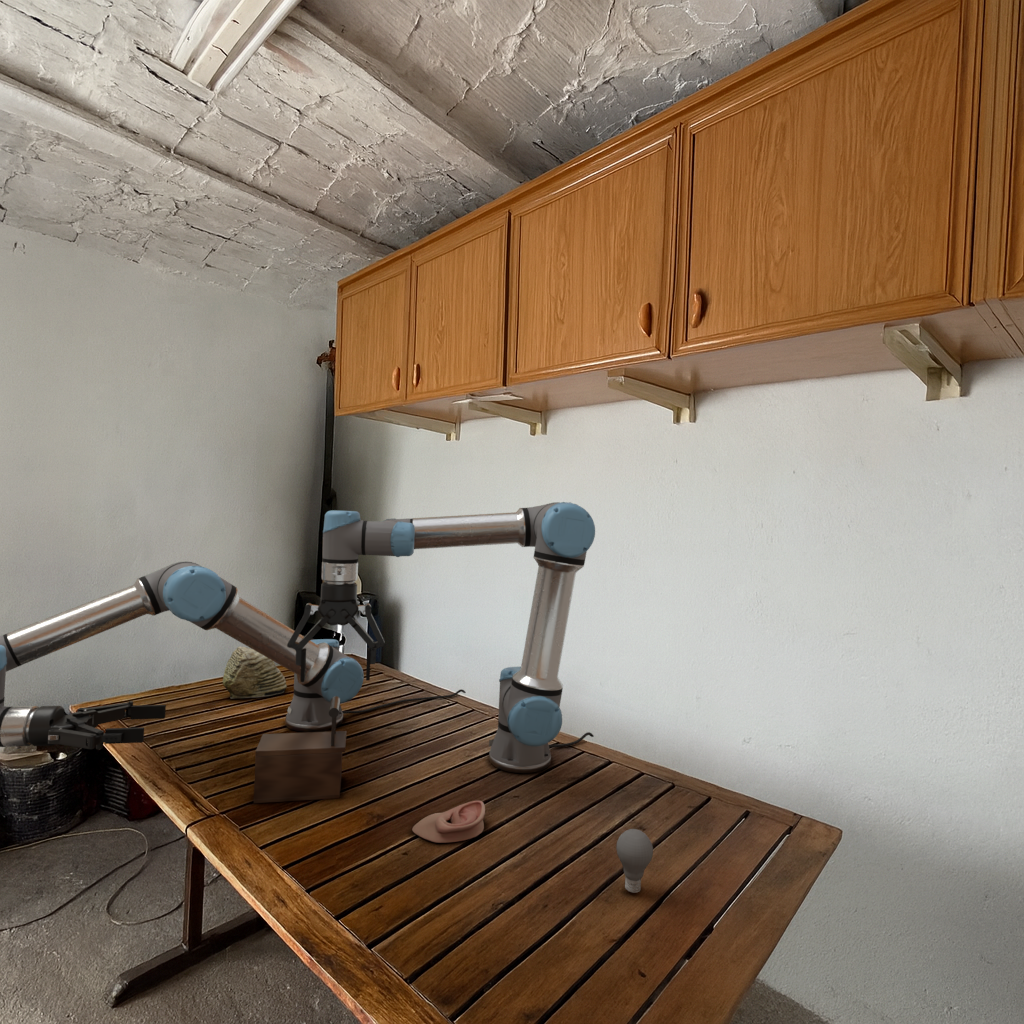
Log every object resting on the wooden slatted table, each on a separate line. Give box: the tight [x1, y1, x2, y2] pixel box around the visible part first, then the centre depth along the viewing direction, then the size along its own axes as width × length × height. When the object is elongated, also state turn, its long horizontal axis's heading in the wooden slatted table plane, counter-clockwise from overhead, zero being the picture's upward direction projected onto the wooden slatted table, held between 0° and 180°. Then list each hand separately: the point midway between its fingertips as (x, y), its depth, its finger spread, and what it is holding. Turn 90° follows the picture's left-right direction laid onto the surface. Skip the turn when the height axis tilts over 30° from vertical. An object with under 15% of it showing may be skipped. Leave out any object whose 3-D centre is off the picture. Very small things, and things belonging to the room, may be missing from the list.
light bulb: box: [615, 828, 654, 894], centre depth 106 cm, size 6×6×10 cm
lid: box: [255, 696, 347, 757], centre depth 136 cm, size 18×9×9 cm, turn 103°
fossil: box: [222, 646, 288, 699], centre depth 198 cm, size 9×18×15 cm, turn 132°
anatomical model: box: [411, 800, 486, 844], centre depth 123 cm, size 13×4×12 cm
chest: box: [253, 753, 343, 804], centre depth 136 cm, size 17×9×10 cm, turn 103°
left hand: (155, 722), depth 129 cm, fingers open, 13 cm apart
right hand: (335, 679), depth 137 cm, fingers open, 13 cm apart
